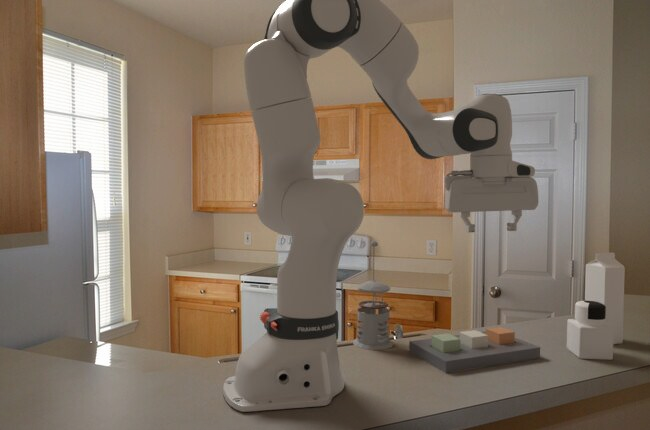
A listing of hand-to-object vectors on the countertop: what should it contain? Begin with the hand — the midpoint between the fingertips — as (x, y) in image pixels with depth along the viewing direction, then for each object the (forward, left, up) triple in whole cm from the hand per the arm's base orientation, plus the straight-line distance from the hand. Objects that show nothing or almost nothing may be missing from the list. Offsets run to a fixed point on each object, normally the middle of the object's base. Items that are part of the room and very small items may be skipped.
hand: (491, 231), depth 106 cm
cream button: (-3, +1, -26) cm, 26 cm away
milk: (+34, -2, -28) cm, 44 cm away
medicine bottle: (+22, -8, -28) cm, 36 cm away
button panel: (-3, +1, -28) cm, 28 cm away
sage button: (-11, +1, -26) cm, 28 cm away
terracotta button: (+4, +1, -26) cm, 26 cm away
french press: (-20, +17, -28) cm, 39 cm away
